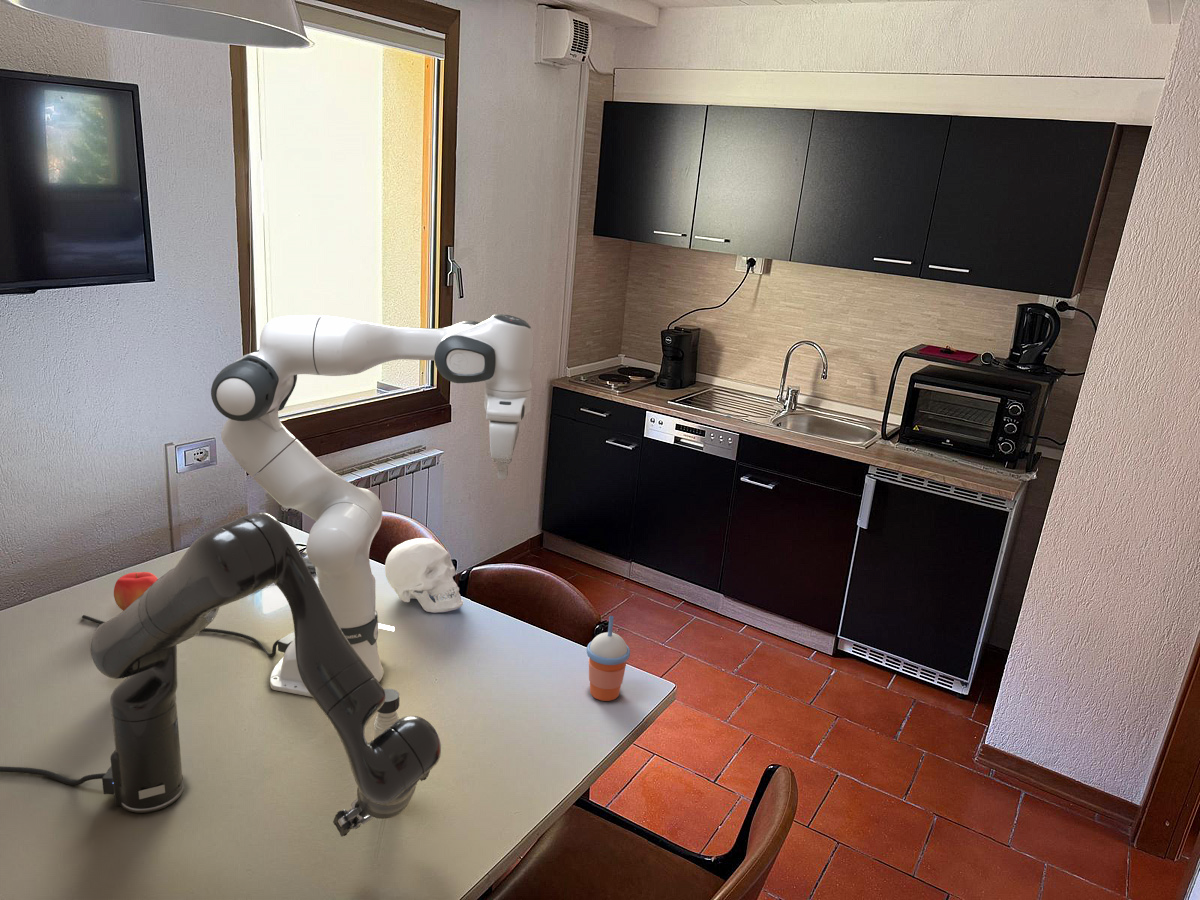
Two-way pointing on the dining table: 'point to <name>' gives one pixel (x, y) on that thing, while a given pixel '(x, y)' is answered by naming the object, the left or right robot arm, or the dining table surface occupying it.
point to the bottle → (384, 722)
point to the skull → (423, 575)
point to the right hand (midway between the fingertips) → (504, 470)
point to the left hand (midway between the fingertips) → (379, 804)
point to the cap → (390, 702)
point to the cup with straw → (607, 664)
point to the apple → (132, 587)
